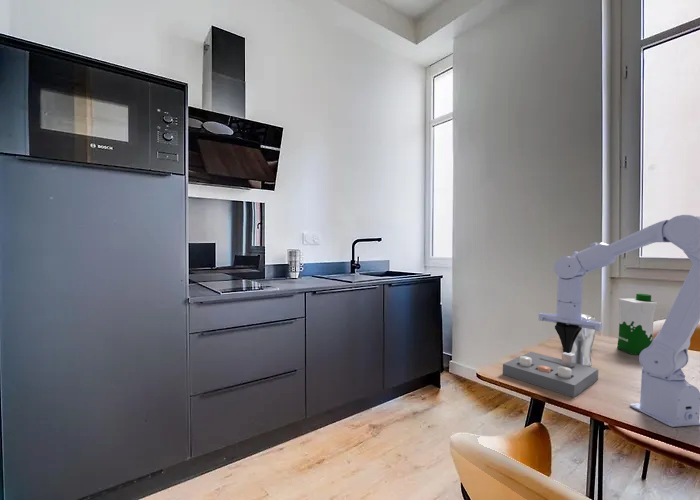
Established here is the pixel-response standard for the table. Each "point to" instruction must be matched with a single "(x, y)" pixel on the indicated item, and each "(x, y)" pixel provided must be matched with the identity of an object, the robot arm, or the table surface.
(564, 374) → the near button
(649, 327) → the milk carton
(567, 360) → the slider knob
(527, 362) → the far button
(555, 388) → the control panel
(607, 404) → the table surface
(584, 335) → the beer glass
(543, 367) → the middle button
